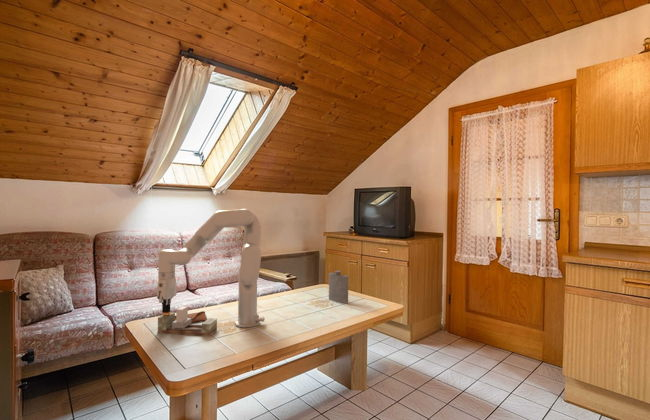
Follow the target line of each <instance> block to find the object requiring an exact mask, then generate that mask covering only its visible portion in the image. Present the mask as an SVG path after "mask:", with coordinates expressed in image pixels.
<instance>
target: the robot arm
mask: <svg viewBox="0 0 650 420" xmlns="http://www.w3.org/2000/svg"><path fill="white" fill-rule="evenodd" d="M236 227H239V228H240V227H243V228H244V230H243V231H244V232H243V242H242V248H241V259H240V267H239V269H238V272H237V273H238V275H237V276H238V277H237V278H238V292H237V293H238V302H237V303H238V307H237V311H238V312H237V313H238V314H237V315H238V317H237V319H236V320H235V321H234V325H235V326H236V327H238V328H252V327H255V326H256V327H257V326H258V325H259V324H260V323H261V322H263V323H264V322H265V317H264V316H260V315H259V313H258V279H259V276H260V269H261V263H262V262H261V261H262V250H261V247H260V245H261V234H262V227H261V222H260V220H259V218H258V216H256V214H255V213H254V212H252V211H251V210H249V209H248V208H240V209H230V210H224V209H223V210H222V209H220V210H217V211H215V212H214V213H213V214H212V215H211V216H210V217H209V218H208V219H207V220H206V221H204V224H202V226H200V227H199V228H197V230H196V232H195V233H194V234H193V236H192V237H191V238H190V239H189V240H188V241H187V242H186V243H185V244H184V245H183V247H181V248H180V249H179V250H178V249H177V250H174V249H170V248H169V249H167V248H166V249H165V248H164V249H160V250H159V252H158V261H157V262H158V267H157V271H158V273H157V279H158V281H157V286H156V287H157V288H156V298H157V300H158V303H159V304H161V307H162V308H161V309H162V311H161V313H162V314H163V313H169V312H170V311H171V303H172V299H173V298H174V297H176V296H177V293H178V289H177V278H176V265H177V266H186V265H188V264H189V263H190V262H191V260H192V259H193V258H194V257H195V256H196V255H197V254H199V252H200V251H201V250H202V249H203V248H204V247H205V246H206V245H208V244H210V243H211V242H212V241H213V240H214V239H215V237H217V235H218V234H220V233H221V231H222V230H223V229H224V228H236Z"/></svg>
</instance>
